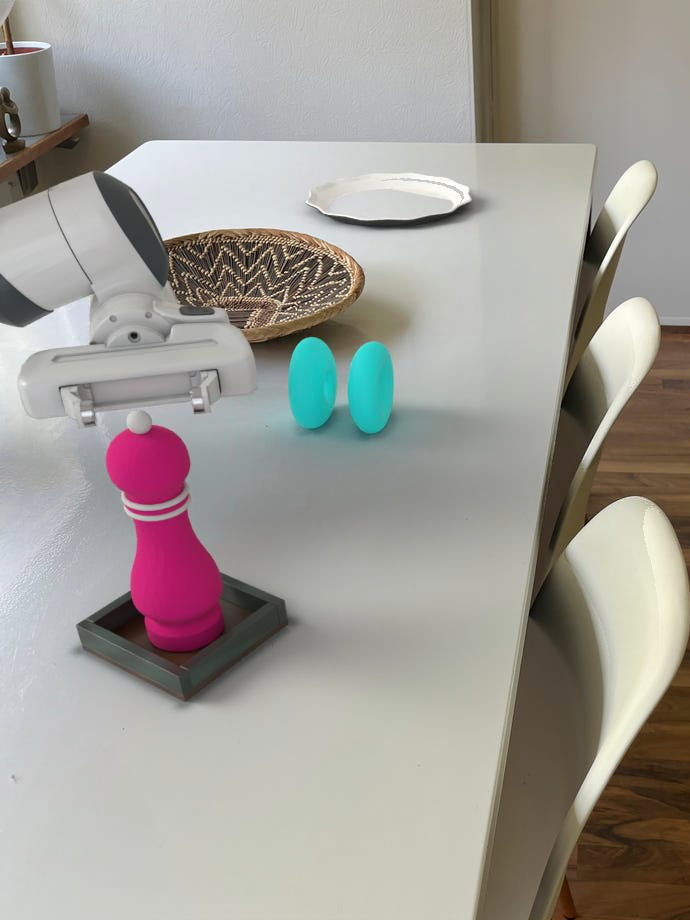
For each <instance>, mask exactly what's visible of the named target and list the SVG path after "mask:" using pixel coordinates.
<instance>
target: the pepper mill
mask: <svg viewBox="0 0 690 920" xmlns="http://www.w3.org/2000/svg"><path fill="white" fill-rule="evenodd" d="M125 422H126V426H127V428H125V429H124V430H122V431H121V432H120V433H118V434H117V435H116V436H114V437H113V439H112V440H111V441H110V443H109V444H108V446H107V450H106V453H105V454H106V455H105V467H106V472H107V474H108V477H109V479H110V481H111V482H112V484H113V485H114V486H115V487H117V489H118V490H120V491H121V493H120V499H121V501H122V503H123V510H124V512H125V514H126V515H127V516H129V517H130V518H131V519H132V521H133V524H134V527H135V535H136V550H135V555H134V560H133V563H132V567H131V571H130V582H129V584H130V585H129V589H130V590H131V595H132V600H133V603H134V605H135V607H136V608H137V609H138V611H139V612H140V613H142V614H143V615H144V616H145V625H146V629H147V633H148V637H149V640H150V641H151V642H152V643H153V644H154V645H155V646H156V647H158V648H160V649H162V650H166V651H171V652H187V651H193V650H196V649H199V648H202V647H204V646H207V645H208V644H210V643H212V642H213V641H214V640H215V639H217V638H218V637H219V635H220V634H221V632H222V630H223V628H224V619H223V614H222V609H221V605H220V603H219V602H218V600H219V599H220V596H221V594H222V591H223V583H222V578H221V575H220V572H221V571H220V569H219V567H218V565H217V563H216V561H215V559H214V558H213V556H212V555H211V553H210V552H209V551H208V550H207V549H206V547H205V546H204V545H203V544H202V542H201V541H200V539H199V538H198V537H197V534H196V533H195V531H194V529H193V526H192V523H191V519H190V517H189V510H188V508H189V507H190V506H191V503H192V496H191V494H190V486H189V483H188V482H187V481H186V479H187V478H188V477H189V473H190V470H191V458H190V457H191V456H190V453H189V450H188V447H187V445H186V444H185V442H184V440H183V439H182V438H181V437H180V436H179V435H178V434H177V433H176V432H174V430H171V429H169V428H168V427H165V426H161V425H158V424H153V420H152V416H151V415H150V414H149V413H148V412H147V411H145V410H143V409H134V410H132V411H130V412H129V413H128V414H127V417H126V420H125Z"/></svg>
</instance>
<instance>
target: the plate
mask: <svg viewBox="0 0 690 920" xmlns="http://www.w3.org/2000/svg"><path fill="white" fill-rule="evenodd" d="M392 178H394V179H395V178H397V179H400V178H405V179H406V178H411V179H420V180H429V181H435V182H441V183H445V184H447V185H451V186H454V187H456V188H457V189H459V190H460V191H462V192H463V194H464V195H463V196H464V199H463V200H462V198H461V196H460V194H459V193H457V192H456V191H454V190H453V189H450V188H447V187H445V186H442V185H437V184H432V183H427V182H418V181H403V180H387V181H381V180H386V179H392ZM388 189H389V190H394V191H398V192H399V191H400V192H403V193H404V192H405V193H408V194H415V195H420V196H426V197H430V198H436V199H441V200H445V201H446V200H447V201H451V204H452V207H451V209H449V210H447V211H441V212H433V213H426V214H423V215H419V216H415V217H407V218H405V217H403V218H402V217H378V218H363V217H356V216H352V215H348V214H339V213H331V212H329V209H328V206H329V205H330V204H331V202H333V201H335V200H336V199H338V198H341V197H343V196H346V195H349V194H355V193H359V192H365V191H373V190H388ZM471 191H472V189H471V188H470V187H469V186H467V185H464V184H461V183H458V182H456V181H455V180H452V179H451V178H449V177H445V176H444V177H443V176H434V175H426V174H422V173H416V172H415V173H414V172H399V173H397V172H396V173H377V172H376V173H367V174H362V175H355V176H351V177H342V178H341V177H340V178H336V179H333V180H330V181H329V182H327V183H325V184H323V185H319V186H317V187H314V188H311V189H310V190H309V191H308V193H309V196H308V198H307V199H306V201H305V204H306V205H307V206H309V207H311V208H312V209H313V208H314V209H315V210H318V211H319V212H320V213H321V214H322V215H324V216H325V217H326V216H327V217H328V218H331V219H333V220H335V221H338V222H341V223H345V224H350V225H356V226H364V227H365V226H366V227H385V228H386V227H387V228H388V227H390V228H391V227H406V226H413V225H421V224H426V223H430V222H435V221H438V220H441V219H443V218H447V217H448V216H450V215H452V214H454V213H455V212H457V211H458V210H461V209H462V208H464V207H465V206H467V205H470V204H471V203H472V202H473V199H472V198H473V197H472V196H471V195H470V194H471ZM461 200H462V202H461ZM460 202H461V203H460ZM461 207H462V208H461Z"/></svg>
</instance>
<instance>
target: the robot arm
mask: <svg viewBox="0 0 690 920" xmlns="http://www.w3.org/2000/svg"><path fill="white" fill-rule="evenodd" d="M15 2H16V0H0V28H1V27H2V26H3V24H4V23H5V22H6V20H7V18H8V17H9V15H10V14H11V12H12V9H13V7H14V4H15ZM170 265H171V264H170V258H169V254H168V251H167V248H166V245H165V242H164V240H163V237H162V235H161V232H160V230H159V228H158V225H157V224H156V222H155V220H154V218H153V216H152V214H151V213H150V211H149V209H148V208H147V206H146V204H145V203H144V201H143V200H142V198H141V197H140V195H139V194H138V193H137V192H136V191H135V189H134V188H132V187H131V186H129V185H128V184H126V183H125V182H123V181H122V180H120V179H118V178H116V177H114V176H113V175H111V174H109V173H106V172H104V171H100V170H96V169H94V170H93V171H89V172H86V173H85V174H81V175H78V176H76V177H73V178H70V179H68V180H65V181H62V182H60V183H57V184H55V185H53V186H50V187H49V188H48V189H46V190H43V191H41V192H37V193H36V194H33V195H31V196H28V197H25V198H23V199H20V200H18V201H15V202H13V203H11V204H7V205H5V206H3V207H0V324H2V325H6V326H11V327H14V328H20V329H21V328H22V329H23V328H25V327H27V326H28V325H31V324H33V323H35V322H36V321H38V320H40V319H43V318H45V317H46V316H48V315H50V314H52V313H54V312H55V310H57V309H59V308H62V307H65V306H67V305H69V304H72V303H74V302H77V301H79V300H82V299H84V298H87V297H89V296H90V301H89V302H90V303H89V310H88V311H89V313H88V315H89V326H88V328H89V329H88V344H87V345H86V344H85V345H76V346H75V345H74V346H65V347H56V348H48V349H42V350H39V351H36V352H34V353H32V354H30V356H28V357H27V359H25V361H24V363H22V365H21V366H20V370H19V373H18V375H17V378H16V386H17V390H18V394H19V398H20V402H21V404H22V407H23V411H24V412H25V415H27V416H29V417H31V418H33V419H35V420H47V419H55V418H62V417H68V418H70V419H72V420H74V421H75V422H76V425H77V428H78V429H85V428H94V427H97V426H98V425H97V423H98V418H97V414H96V413H105V412H113V411H121V410H130V409H131V410H132V409H138V408H139V409H140V408H146V407H155V406H163V405H171V404H172V405H173V404H181V403H189V402H191V406H192V413H193V415H202V414H203V415H204V414H209V413H212V410H211V406H212V405H214V404H215V403H216V402H217V401H218V400H220V399H222V398H230V397H231V398H232V397H240V396H248V395H251V394H253V393H255V392H256V391H257V390H258V389H259V379H258V372H257V365H256V360H255V355H254V352H253V349H252V347H251V344H250V343H249V341H248V339H247V338H246V336H245V334H244V333H243V332H242V330H241V329H239V328H238V327H237V326H235V325H233V324H231V321H230V317H229V315H228V312H227V310H226V309H224V308H222V307H215V306H199V305H198V306H197V305H196V306H195V305H184V304H180V303H179V300H178V298H177V296H176V294H175V291H174V288H173V287H172V285H171V283H170V282H169V280H168V279H169V274H170V273H169V272H170Z"/></svg>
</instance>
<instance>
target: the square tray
mask: <svg viewBox="0 0 690 920" xmlns="http://www.w3.org/2000/svg"><path fill="white" fill-rule="evenodd" d="M219 572H220V575H221V578H222V583H223V591H222V594H221V596H220V599H219V600H218V602H219V603H220V605H221V609H222V614H223V619H224V628H223V630H222V632H221V634H220V635H219V637H218V638H217V639H215V640H214V641H213V642H212V643H210V644H208V645H207V646H204V647H202V648H199V649H196V650H193V651H187V652H171V651H166V650H162V649H160V648H158V647H156V646H155V645H154V644H153V643H152V642H151V641H150V640H149V637H148V633H147V629H146V625H145V616H144V615H143V614H142V613H140V612H139V611H138V609H137V608H136V607H135V605H134V603H133V600H132V595H131V589H130V590H129V591H127V592H125V593H124V594H122V595H121V596H119V597H117V598H116V599H114V600H113V601H111V602H109V603H108V604H106V605H105V606H103V607H102V608H100V609H99V610H97V611H96V612H94V613H92V614H91V615H89V616H87V617H86V618H84V619H82V620H81V621H80V622H78V623H75V628H76V631H77V634H78V637H79V640H80V644H81V647H82V649H83V650H84V651H86V652H88V653H90V654H92V655H94V656H95V657H98V658H99V659H101V660H103V661H105V662H107V663H109V664H111V665H112V666H115V667H116V668H118V669H120V670H123V671H124V672H126V673H128V674H130V675H132V676H134V677H136V678H138V679H139V680H141V681H143V682H145V683H147V684H149V685H151V686H153V687H154V688H156V689H159V690H161V691H163V692H164V693H167V694H169V695H170V696H172V697H174V698H176V699H177V700H180V701H182V702H184V703H186V702H188V701H189V700H190V699H192V697H194V696H195V695H197V694H198V693H199V692H200V691H202V690H203V689H204V688H206V687H207V686H208V685H210V684H211V683H213V681H215V680H217V678H219V677H220V676H222V675H223V674H224V673H226V672H227V671H228V670H230V669H231V668H232V667H233V666H235V665H236V664H238V663H239V662H241V661H242V660H243V659H244V658H245V657H247V656H248V655H250V654H251V653H252V652H254V651H255V650H257V649H258V648H259V647H260V646H261V645H263V644H264V643H265V642H267V641H268V640H269V639H271V638H272V637H273V636H275V635H276V634H277V633H279V632H280V631H281V630H283V629H284V628H285V627H286V626H288V625H289V619H288V612H287V606H286V605H287V604H286V600H285V599H284V598H281V597H279V596H276V595H274V594H272V593H269V592H267V591H266V590H262V589H260V588H258V587H255V586H253V585H251V584H249V583H247V582H245V581H242V580H240V579H237V578H235V577H233V576H230V575H228V574H225V573H223V572H221V571H219Z"/></svg>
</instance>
